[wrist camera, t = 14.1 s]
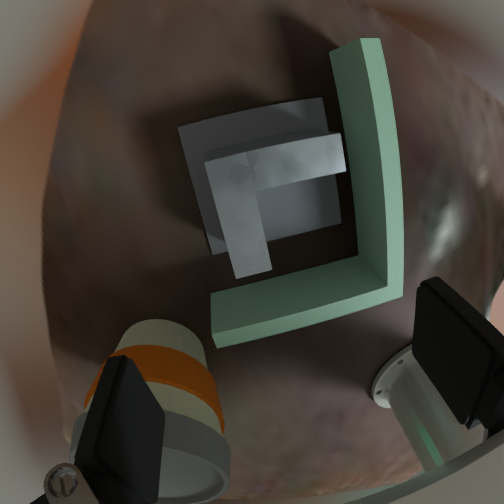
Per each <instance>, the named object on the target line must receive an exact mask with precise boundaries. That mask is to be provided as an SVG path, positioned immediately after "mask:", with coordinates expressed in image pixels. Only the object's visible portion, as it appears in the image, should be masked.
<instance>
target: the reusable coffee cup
mask: <svg viewBox="0 0 504 504" xmlns="http://www.w3.org/2000/svg"><path fill="white" fill-rule="evenodd" d="M119 355H126V356H127V357H128V358H131V359H132V360H133V361H134V363H135V364H136V366H137V368H138V370H139V371H140V373H141V375H142V376H143V378H144V380H145V381H146V383H147V385H148V386H149V388H150V390H151V391H152V393H153V395H154V396H155V398H156V399H157V401H158V402H159V404H160V406H161V407H162V409H163V410H164V413H165V428H164V438H163V447H162V458H161V469H160V481H159V495H158V501H157V503H154V504H201V503H205V502H208V501H211V500H213V499H216V498H218V497H219V496H221V495H222V494H224V493H225V492H226V490H227V489H228V488H229V483H230V458H231V452H230V448H229V445H228V443H227V442H226V440H225V439H224V438H223V436H222V434H223V432H224V426H225V423H224V419H223V414H222V410H221V406H220V402H219V398H218V394H217V389H216V385H215V381H214V379H213V377H212V375H211V373H210V372H209V371H208V369H207V364H206V359H205V354H204V349H203V346H202V344H201V341H200V340H199V339H198V337H197V336H196V335H195V334H194V333H193V332H192V331H191V330H189V329H188V328H186V327H184V326H183V325H181V324H178V323H176V322H173V321H169V320H163V319H149V320H144V321H141V322H138V323H136V324H134V325H132V326H131V327H130V328H129V329H128V330H127V331H126V332H125V333H124V335H123V337H122V339H121V340H120V342H119V344H118V346H117V348H116V350H115V352H114V353H113V354H111V355H110V356H109V357H112V356H119ZM106 360H107V359H106ZM106 360H105V362H104V363H103V365H102V367H101V369H100V370H99V372H98V374H97V376H96V378H95V380H94V382H93V384H92V386H91V388H90V390H89V391H88V393H87V396H86V399H85V402H84V405H85V411H84V413H83V414H82V415H80V416H79V417H78V419H77V420H76V421H75V424H74V428H73V434H72V441H71V448H70V457H69V459H70V463H71V464H74V461H75V459H74V456H75V453H76V449H77V446H78V443H79V439H80V436H81V433H82V430H83V426H84V423H85V420H86V417H87V414H88V411H89V408H90V405H91V402H92V399H93V396H94V393H95V390H96V387H97V385H98V382H99V379H100V376H101V373H102V371H103V368H104V365H105V363H106Z"/></svg>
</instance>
